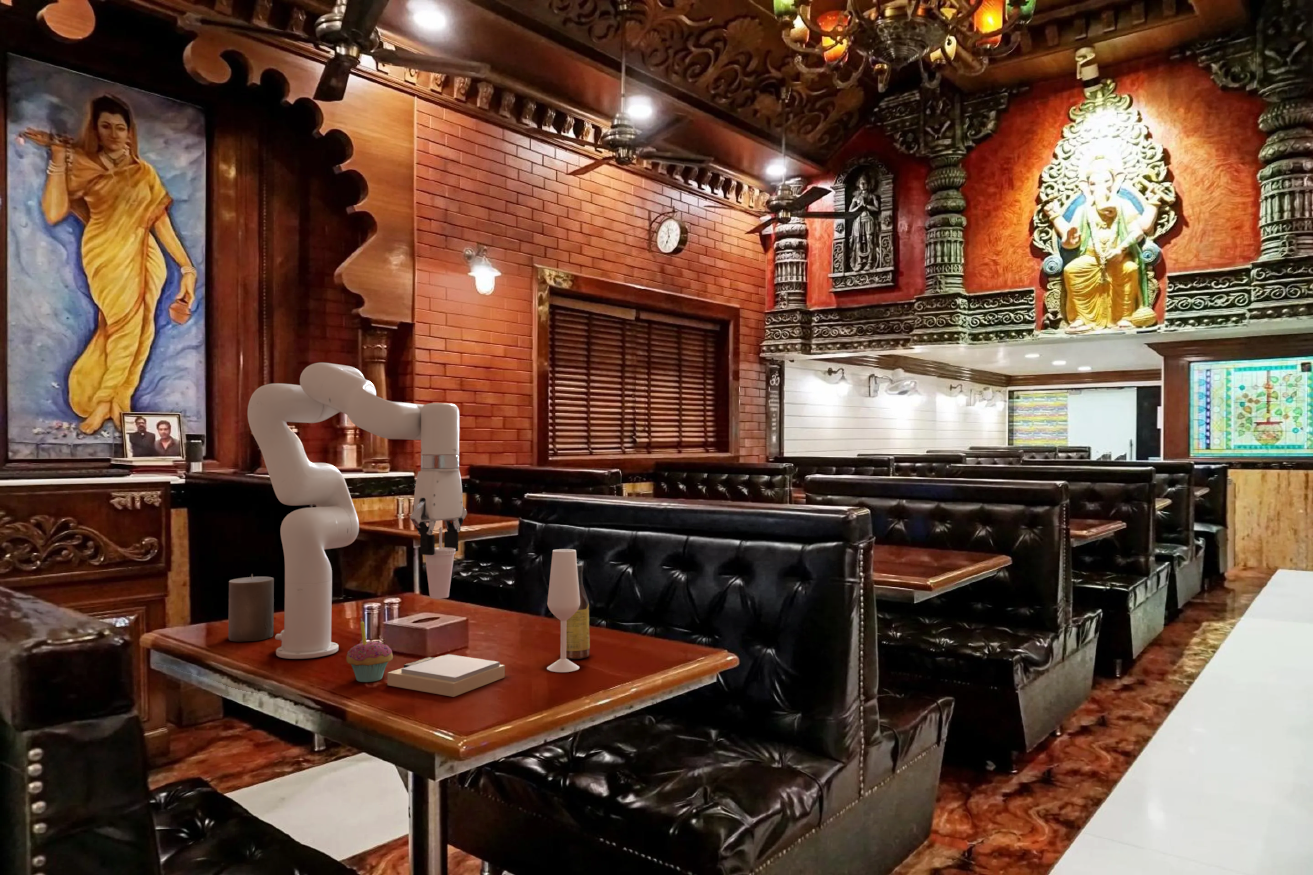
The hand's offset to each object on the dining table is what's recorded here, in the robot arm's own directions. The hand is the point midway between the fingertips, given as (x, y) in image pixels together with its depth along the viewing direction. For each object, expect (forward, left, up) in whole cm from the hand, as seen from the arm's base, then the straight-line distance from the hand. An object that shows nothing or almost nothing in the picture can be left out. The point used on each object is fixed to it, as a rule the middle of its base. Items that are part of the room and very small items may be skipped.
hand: (439, 552), depth 168 cm
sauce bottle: (+18, +23, -24) cm, 38 cm away
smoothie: (0, 0, -9) cm, 9 cm away
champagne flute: (+21, +14, -24) cm, 35 cm away
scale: (+7, -5, -24) cm, 25 cm away
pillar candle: (-59, +2, -24) cm, 64 cm away
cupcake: (-7, -11, -24) cm, 27 cm away
